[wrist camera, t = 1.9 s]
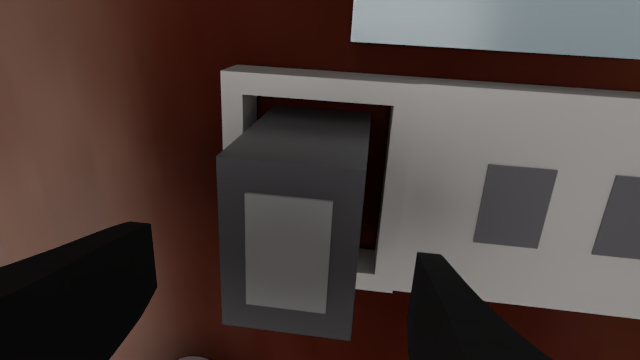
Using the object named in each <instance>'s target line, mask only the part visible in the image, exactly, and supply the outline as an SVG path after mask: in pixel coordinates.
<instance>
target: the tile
mask: <svg viewBox="0 0 640 360" xmlns="http://www.w3.org/2000/svg"><path fill="white" fill-rule="evenodd" d="M351 42H365V43H381V44H398V45H414V46H430V47H447V48H463V49H480V50H496V51H512V52H529V53H545V54H562V55H578V56H594V57H611V58H627V59H640V0H354V3H353V17H352V30H351Z"/></svg>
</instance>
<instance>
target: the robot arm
mask: <svg viewBox="0 0 640 360" xmlns="http://www.w3.org/2000/svg"><path fill="white" fill-rule="evenodd" d="M156 288H157V280H156V270H155V260H154V251H153V241H152V231H151V224H148V223H139V222H126V223H122V224H119V225H116V226H113V227H110V228H107V229H104V230H101V231H99V232H96V233H93V234H91V235H88V236H86V237H83V238H80V239H78V240H75V241H73V242H70V243H67V244H65V245H62V246H60V247H57V248H54V249H52V250H49V251H46V252H43V253H40V254H37V255H35V256H32V257H29V258H26V259H23V260H21V261H18V262H15V263H12V264H9V265H6V266H3V267H0V360H109V359H110V358H111V356H112V355H113V354H114V353H115V351H116V350H117V349H118V347H119V346H120V345H121V343H122V342H123V341H124V339H125V338H126V337H127V335H128V334H129V333H130V331H131V330H132V329H133V327H134V326H135V324H136V323H137V322H138V320H139V319H140V317H141V316H142V314H143V312H144V311H145V309H146V307H147V305H148V304H149V302H150V300H151V298H152V296H153V294H154V292H155V290H156ZM407 322H408V351H409V358H410V360H552V359H551V358H549V357H548V356H546V355H545V354H544V353H542V352H541V351H540V350H539V349H537V348H536V347H535V346H533V345H532V344H531V343H530V342H528V341H527V340H526V339H525V338H523V337H522V336H521V335H520V334H518V333H517V332H516V331H515V330H514V329H513V328H511V327H510V326H509V325H508V324H507V323H506V322H505V321H504V320H503V319H502V318H501V317H499V316H498V315H497V314H496V313H495V312H494V311H493V310H492V309H491V308H490V307H489V306H488V305H487V304H486V303H485V302H484V301H483V300H482V299H481V298H480V297H479V296H478V295H477V294H476V293H475V292H474V291H473V290H472V288H471V287H470V286H469V285H468V284H467V283H466V282H465V281H464V280H463V279H462V277H461V276H460V275H459V274H458V273H457V272H456V271H455V269H454V268H453V267H452V266H451V265H450V264H449V262H448V261H447V260H446V259H445V258H444V257H443V256H442V255H441V254H433V253H424V252H417V256H416V263H415V269H414V276H413V283H412V289H411V296H410V303H409V309H408V316H407Z"/></svg>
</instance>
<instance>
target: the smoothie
mask: <svg viewBox="0 0 640 360" xmlns="http://www.w3.org/2000/svg"><path fill="white" fill-rule="evenodd" d="M178 360H209V359H206V358H203V357H198V356H188V357H183V358H180V359H178Z"/></svg>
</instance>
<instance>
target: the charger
mask: <svg viewBox="0 0 640 360" xmlns="http://www.w3.org/2000/svg"><path fill="white" fill-rule="evenodd" d="M370 124H371V113H367V112H354V111H341V110H328V109H315V108H302V107H289V106H276V105H274V106H273V107H272V108H271V109H270V110H269V111H268V112H266V113H265V114H264V115H263V116H262V117H261V118H260V119H258V120H257V121H256V122H255V123H254V124H253V125H252V126H250V127H249V128H248V129H247V130H246V131H245V132H244V133H242V134H241V135H240V136H239V137H238V138H237V139H235V140H234V141H233V142H232V143H231V144H230V145H229V146H227V147H226V148H225V149H224V150H223V151H222V152H221V153H219V154H218V155H217V156H216V170H217V196H218V223H219V249H220V275H221V302H222V324H225V325H232V326H240V327H248V328H255V329H263V330H271V331H278V332H286V333H294V334H302V335H309V336H317V337H325V338H332V339H340V340H348V341H350V340H351V329H352V318H353V308H354V297H355V287H356V276H357V265H358V255H359V244H360V233H361V223H362V212H363V201H364V191H365V180H366V170H367V158H368V147H369V135H370Z"/></svg>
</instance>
